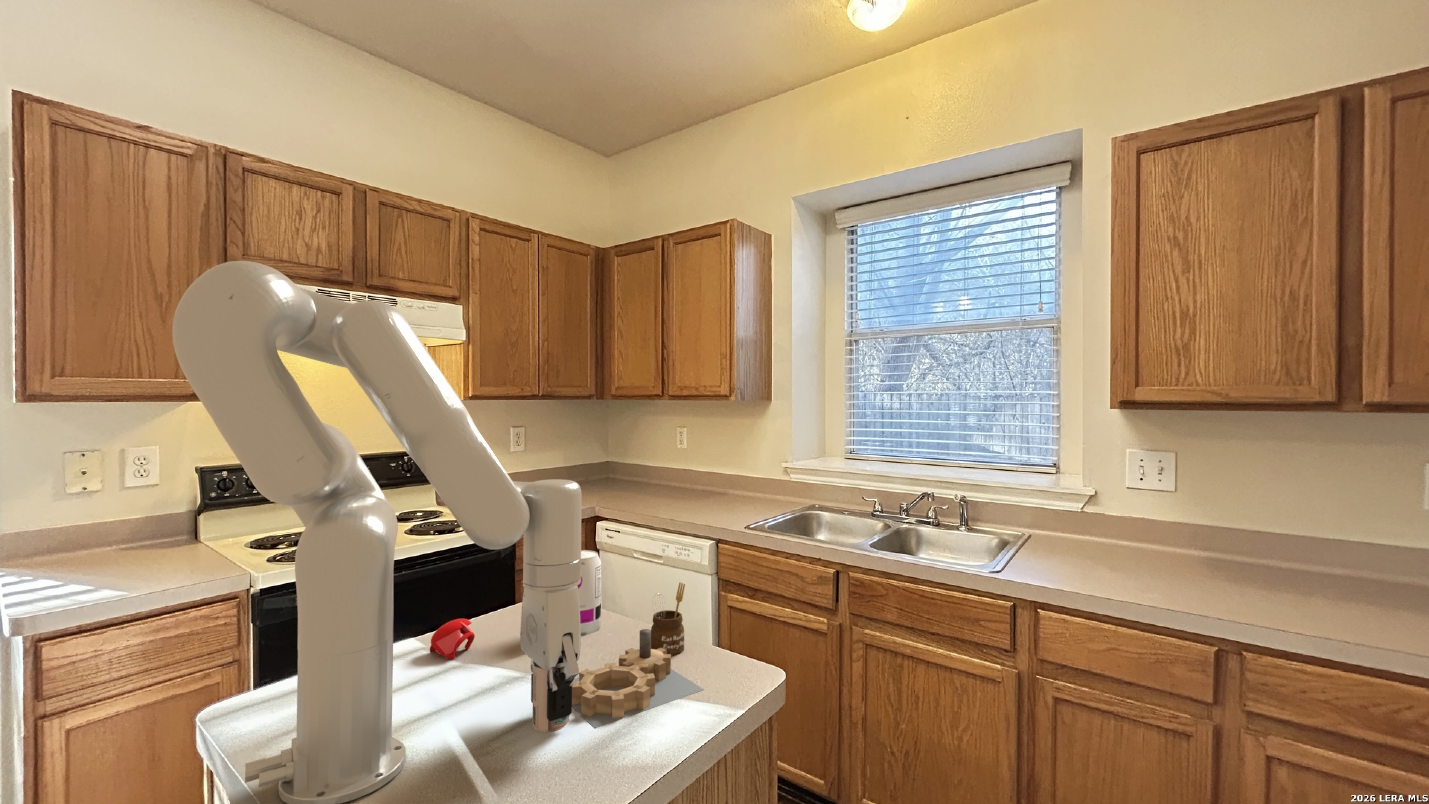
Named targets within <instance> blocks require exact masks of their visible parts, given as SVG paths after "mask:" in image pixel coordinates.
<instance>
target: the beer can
mask: <svg viewBox="0 0 1429 804" xmlns="http://www.w3.org/2000/svg"><path fill="white" fill-rule="evenodd" d="M561 661H563V658H559V659H558V661H557V663H558V662H561ZM564 668H565V667H563V668H559V669H556V675H557V677H558V675H559V673H562V672H563V670H564ZM532 674H533V703H532V719H531V721H532V727H533V729H535V730H537V731H540V732H554V731H557V730H559V729H563V728H565V726H567V724H568V723H569V722H570V715H569V716H565V717H562V718H559V719H556V720H553V721H549V720H548V719H547V689H550V679H549V670H544V669H542V668H541V667H540V666H539V665H537V664H536V663H535V662H534V661H533V673H532Z"/></svg>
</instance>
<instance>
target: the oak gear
mask: <svg viewBox="0 0 1429 804" xmlns="http://www.w3.org/2000/svg"><path fill="white" fill-rule="evenodd" d="M578 675H579V676H578V678H579V681H578V682H574V683H573V686H572V705H576V704H581V714H583V715H586V716H589V717H591V716H592V715H594V714H595V713H603V714H611V715H612V718H620V717H624V712H626V711H629V710H632V709H635V708H638V709H641V710H644V709H646V708H647V707H648V706H650V696H651V695H655V676H654V673H651V674H645V673H643V672H642V671H641V666H640V667H639V665H637V664H633V665H632V666H630V667H626V666H619V665H616V662H609V663H604V667H600V668H598V669H597V668H596V669H593V670H591V669H588V668H586V669H584V670H582V671H579V674H578ZM611 686H614V687H628V688H625V689H622V690H619V691H606V690H601V689H604V688H607V687H611Z"/></svg>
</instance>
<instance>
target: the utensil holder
mask: <svg viewBox="0 0 1429 804" xmlns="http://www.w3.org/2000/svg"><path fill="white" fill-rule="evenodd" d="M678 583H679V584H678V587H677V591H676V595H675V600H676V607H675V610H672V609H671V610H670V609H669V610H667V609H665V607H662V610H659V607H655V608H652V610H653V612H654V614H653V617H652V623H653V624H652V625H651V627H650V630H651V649H655V650H656V649H659V648H663V649H666V650H667V654H671V657H674V656H678V655H680V654H682V653H683V652H684V651H685V628H684V625H683V614H682V613H681V612H680V611H679V608H680V607H679V606H680V604H681V603H682V601H683V598H684V594H685V593H684V592H685V587H686V584H685V583H683V582H682V583H681V581H680V582H678ZM656 596H657V597H658V598H659V599H661V596H662V593H656V594H655V595H653V597H652V599H651V600H652V601H651V603H652V606H657V605H656V602H657V604H659V603H660V606H662V605H661V602H662V604H667V603H666V601H661V602H658V600H656V602H655V599H656ZM662 597H663V600H666V599H665V597H664V596H662ZM655 609H656V610H657V611H656V610H655Z"/></svg>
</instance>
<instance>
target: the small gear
mask: <svg viewBox="0 0 1429 804" xmlns="http://www.w3.org/2000/svg"><path fill="white" fill-rule="evenodd" d="M633 664H637V665H639V667H640V666H641V671H642V672H643V673H645V674H651V673H654V676H655V680H657V681H661V680H663V679H666V674H671V669H672V667H671V666H672V656H671V654H667V650H666V649H663V648H659V649H656V650H655V649H651V629H648V628H645V629H644V628H642V629H640V630H639V649H635V648H633V647H632V648H628V649H625V651H624V654H619V656H618V666H626V667H630V666H632V665H633Z"/></svg>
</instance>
